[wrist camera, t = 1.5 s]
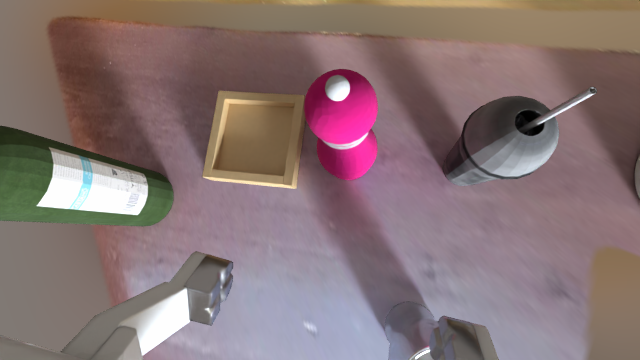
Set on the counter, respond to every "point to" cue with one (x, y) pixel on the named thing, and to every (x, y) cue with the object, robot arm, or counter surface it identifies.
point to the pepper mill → (343, 122)
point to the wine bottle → (75, 185)
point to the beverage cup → (506, 140)
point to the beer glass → (409, 331)
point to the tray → (256, 139)
